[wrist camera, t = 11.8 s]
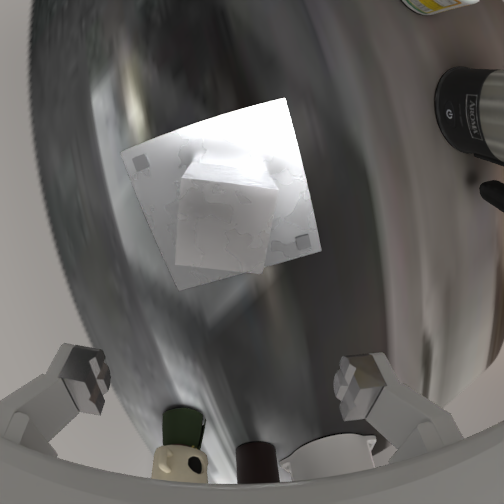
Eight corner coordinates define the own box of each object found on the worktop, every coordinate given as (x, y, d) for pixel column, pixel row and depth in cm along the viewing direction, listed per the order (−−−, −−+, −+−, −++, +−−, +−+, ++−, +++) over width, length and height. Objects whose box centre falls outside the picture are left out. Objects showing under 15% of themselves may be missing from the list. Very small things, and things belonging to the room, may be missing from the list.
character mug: (219, 430, 42) (220, 504, 30) (176, 434, 42) (171, 505, 30) (193, 391, 37) (188, 479, 25) (145, 396, 37) (131, 478, 26)
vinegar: (227, 450, 45) (231, 553, 27) (256, 437, 43) (268, 548, 25) (254, 459, 48) (263, 554, 30) (283, 447, 46) (298, 548, 28)
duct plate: (320, 248, 29) (332, 269, 25) (179, 288, 30) (173, 313, 26) (283, 98, 22) (293, 96, 19) (121, 151, 23) (104, 159, 20)
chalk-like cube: (268, 171, 25) (278, 189, 20) (255, 240, 27) (262, 274, 22) (191, 161, 24) (181, 177, 19) (185, 232, 27) (175, 264, 21)
